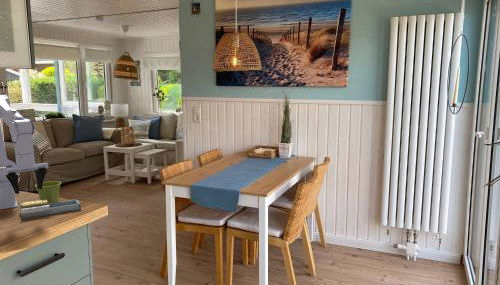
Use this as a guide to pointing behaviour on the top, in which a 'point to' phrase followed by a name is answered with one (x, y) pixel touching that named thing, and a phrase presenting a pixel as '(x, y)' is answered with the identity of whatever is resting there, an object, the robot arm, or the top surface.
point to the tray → (64, 206)
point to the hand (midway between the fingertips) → (28, 191)
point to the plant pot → (49, 191)
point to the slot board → (35, 211)
